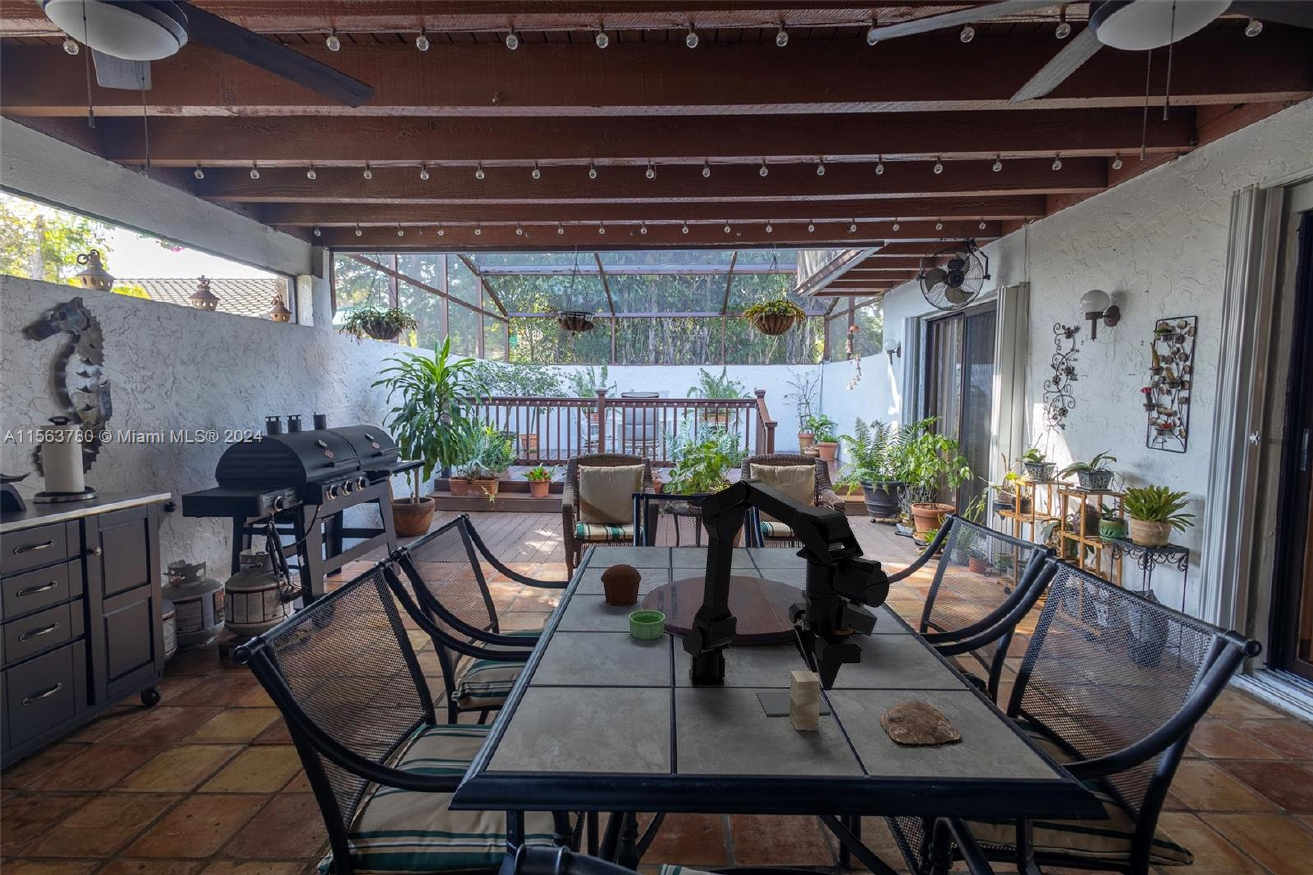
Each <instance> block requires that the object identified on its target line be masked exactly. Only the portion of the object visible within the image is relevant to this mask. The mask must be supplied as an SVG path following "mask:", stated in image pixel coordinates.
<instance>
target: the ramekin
mask: <svg viewBox="0 0 1313 875" xmlns="http://www.w3.org/2000/svg"><path fill="white" fill-rule="evenodd" d="M665 620H666V615H665V614H664V613H663V612H661V611H658V610H653V609H641V610H636V611H633V612H631V613H629V615H628V621H629V630H630V635H631V636H633V638H636V639H637V640H638V639H640V640H645V641H646V640H647V641H649V640H655V639H658V638H660V637H662V636H663V634H664V628H665Z"/></svg>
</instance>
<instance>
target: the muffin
mask: <svg viewBox="0 0 1313 875" xmlns="http://www.w3.org/2000/svg"><path fill="white" fill-rule="evenodd" d="M600 581H601V583H603V590H604V596H605V597H604V598H605V603H606V604H608V605H610V606H615V607H627V606H632V605H634V604H635V603H637V602H638V597H639V590H640V584H641V581H642V576H641V574H640V572H639V571H638V569H636V568H635V567H633V566H631V565H630V564H626V563H623V564H621V563H620V564H615V565H614V564H613V565H612V566H610V567H608V568H607V569H606V570H605V571H604V572H603V574H602V575H601V576H600Z"/></svg>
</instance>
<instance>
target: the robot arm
mask: <svg viewBox="0 0 1313 875" xmlns="http://www.w3.org/2000/svg"><path fill="white" fill-rule="evenodd" d="M752 508H755V509H756V510H759V511H761V512H762V513H765V514H766V515H768V516H769V517H771V518H773V519H774V520H777V521H779V523H782V524H784V525H786V526H787V527H789V528H790V529H791V531H792V533H793V535H794V537H795V538H796V539H797V540H798V541H799V542H801V543H802V544H803V545H804V546H803V547H802V548H801V549H799V550H798V551H797V552H796V554H795V555H796V557H798V558H801V559H805V560H806V564H805V565H806V568H805V569H806V573H805V589H803V590H801V597H802V598H803V600H804V601H805V602H793V604H791V605H790V606H789V607H788V619H789V620H790V622H791V623H792V624H794V625H793V630H794V631H795V634H796V635H797V636H796V637H797V639H798V641H799V644H800V646H801V649H802V650H803V653H804V656H805V659H806V661H807V664H808V667H809V670H810V671H811V672H812V673H815V674H816V673H818V675H819V676H818V677H819V681H820V683H821V685H822V688H823V690H824V692H828V691H831V690H832V689H833V686H834V683H835V681H836V678H837V676H838V673H839V671H840V669H841V666H842V665H844V664H861V663H862V662H863V649H862V647H861V646H860V645H859V644H858V643H857V642H856V641H855V640H854V639H853V638H852V637H851V636H850V634H847V635H838V634H837V631H840V632H848V627H849V628H851V629H854V631H858V632H859V633H862V634H864V635H865V636H868V637H871V636H872V634H873V632H874V629H875V626H876V624H877V621H878V617H877V616H876V615H875V614H874V613H873V612H871V611H870V610H869V609H867V608H865V606H868V607H870V608H873V609H874V608H875V609H876V608H879V607H881V606H882V605H883V604H884V603H885V601H887V600H886V599H887V597H888V596H889V592H890V586H891V585H890V583H891V582H890V581H889V578H888V575H887V573H886V572H885V571H884V570H882V562H881V561H878V560H875V559H867V558H863V557H864V555H865V553H864V551H863V549H862V547H861V545H860V543H859V542H858V540H857V538H856V536H855V534H854V532H853V530H852V528H851V525H850V523H849V518H848V517H847V516H846V515H845V514H844V513H843V512H840V511H838V510H835V509H831V508H827V507H822V506H813V505H809V504H806V503H804V502H801V501H800V500H798V499H796V498H794V497H791V496H789V495H788V494H786V493H784V492H782V491H780V490H778V489H776V488H774V487H772V486H770V485H768V484H767V483H764V481H763V480H761V479H759V478H757V477H755V478H747V479H746V478H745V479H740V480H738V481H737V482H734V484H731V485H730V486H729V487H726V488H724V489H722V490H720V491H717V492H715V493H710V494H708V495H706V497H704V498H703V499H702V503H701V522H702V526H703V527H704V528H705V531H706V533H707V535H708V543H707V552H706V553H707V555H706V566H705V575H704V576H705V577H704V589H703V598H702V599H703V601H702V604H701V605H700V607H699V609H698V610H697V612H696V613H695V615H694V618H693V621H692V626H691V630H690V631H689V633H687V635H685V636H684V638H682V640H681V642H682V646H683V651H684V652H686V653H687V654H689V655H690V658H689V659H690V662H689V663H690V668H689V669H688V674H689V678H690V681H691V685H692V686H693V687H694V686H699V687H700V686H723V685H725V681H724V678H725V677H726V658H725V655H724V652H723V650H728V649H730V647H731V643H732V642H733V641H734V638H735V636H737V623H738V618H737V616H736V615H733V614H732V612H731V610H730V608H729V596H730V587H731V586H730V584H731V574H732V564H733V563H732V562H733V554H734V552H733V551H734V543H735V537H736V536H737V535H738V533H739V532H740V530H741V528H742V527H743V525H744V522H745V516H746V513H747V512H748V510H749V511H750V509H752ZM842 546H843V547H842ZM838 547H842V548H838ZM832 548H837V549H833V550H830V549H832ZM861 604H864V606H862V607H861Z"/></svg>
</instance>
